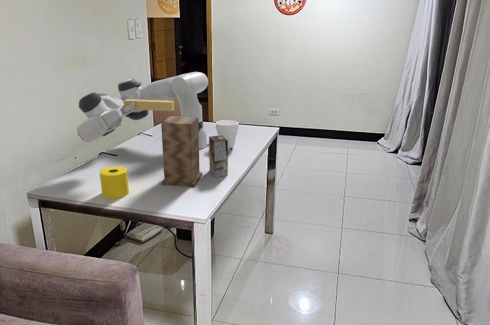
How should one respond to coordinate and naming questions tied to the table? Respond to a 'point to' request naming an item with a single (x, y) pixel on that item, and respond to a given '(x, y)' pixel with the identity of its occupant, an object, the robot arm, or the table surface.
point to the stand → (180, 151)
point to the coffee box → (218, 155)
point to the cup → (228, 130)
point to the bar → (151, 104)
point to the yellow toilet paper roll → (114, 182)
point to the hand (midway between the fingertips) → (137, 103)
